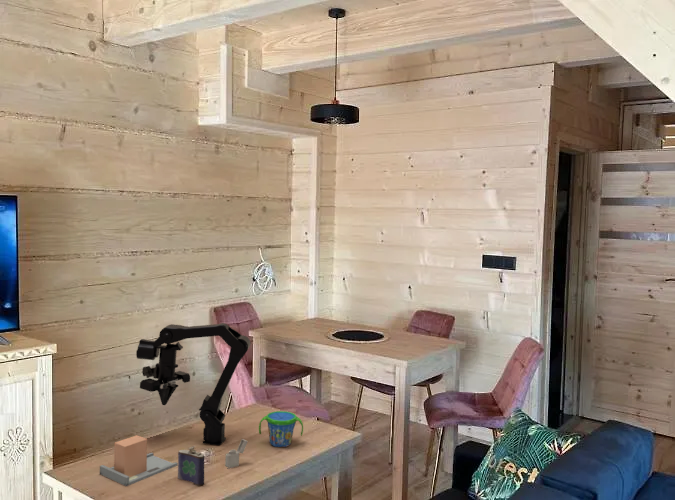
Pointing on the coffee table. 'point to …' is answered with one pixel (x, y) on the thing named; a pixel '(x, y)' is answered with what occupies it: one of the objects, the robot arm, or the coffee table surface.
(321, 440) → the coffee table surface
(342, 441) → the coffee table surface
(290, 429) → the snack cup
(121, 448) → the terracotta block
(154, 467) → the slate lane
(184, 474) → the flask
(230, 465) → the lighter
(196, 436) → the coffee table surface
